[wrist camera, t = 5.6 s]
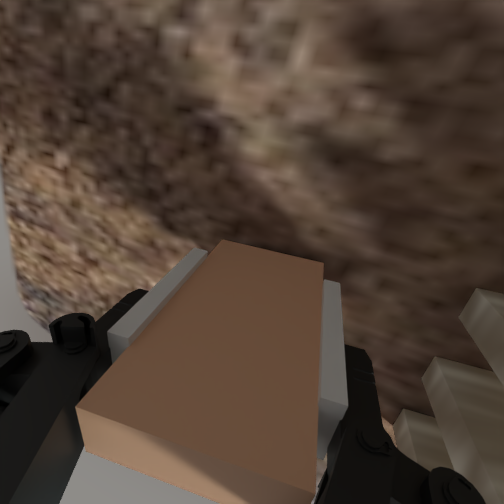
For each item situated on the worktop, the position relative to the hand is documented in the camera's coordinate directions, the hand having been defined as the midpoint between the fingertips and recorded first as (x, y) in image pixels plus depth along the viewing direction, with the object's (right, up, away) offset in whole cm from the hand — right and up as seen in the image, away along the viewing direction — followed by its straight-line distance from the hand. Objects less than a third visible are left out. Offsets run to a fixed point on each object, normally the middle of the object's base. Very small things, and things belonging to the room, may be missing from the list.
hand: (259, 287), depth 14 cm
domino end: (+1, +1, +2) cm, 2 cm away
